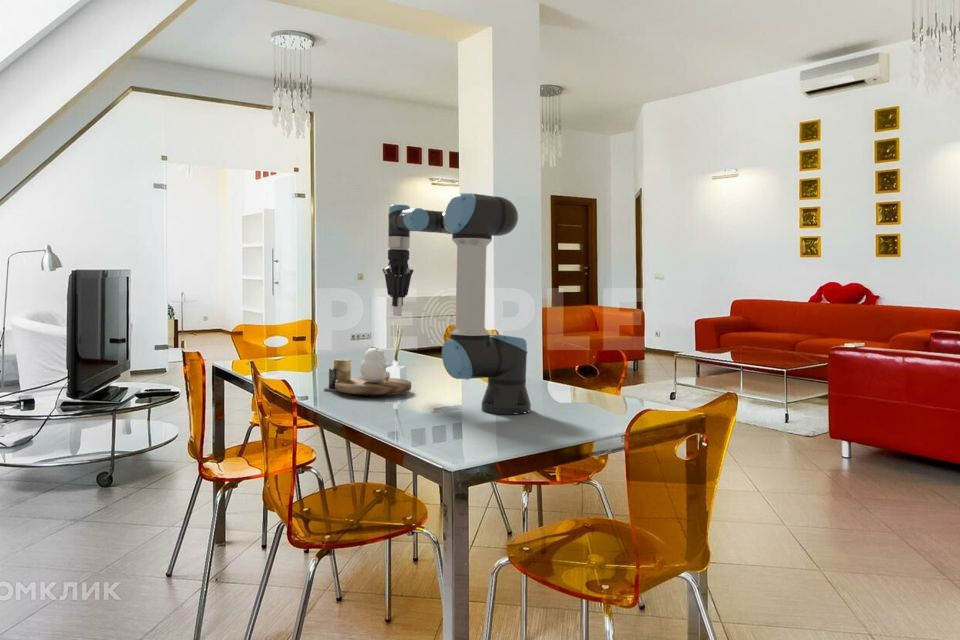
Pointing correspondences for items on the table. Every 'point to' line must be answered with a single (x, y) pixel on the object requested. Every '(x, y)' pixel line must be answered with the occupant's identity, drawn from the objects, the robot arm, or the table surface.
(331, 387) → the base
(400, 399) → the table surface
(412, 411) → the table surface
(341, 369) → the turntable
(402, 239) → the robot arm
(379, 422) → the table surface
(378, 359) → the figurine
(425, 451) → the table surface
